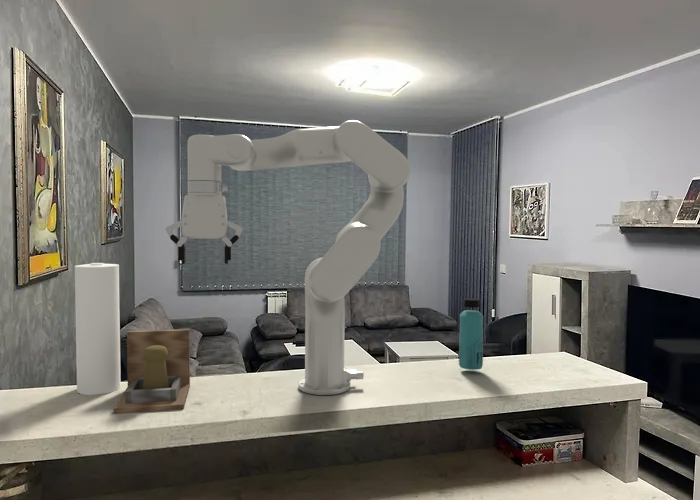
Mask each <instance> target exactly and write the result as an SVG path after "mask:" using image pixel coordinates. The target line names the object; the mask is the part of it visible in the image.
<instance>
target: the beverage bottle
mask: <svg viewBox="0 0 700 500" xmlns="http://www.w3.org/2000/svg"><path fill="white" fill-rule="evenodd" d="M463 301H464V302H463V307H465V308H472V309H473V308H474V309H476V308H479V307H480V300H479V299H478V298H464V300H463ZM472 309H471V310H469V309H467V310H466V309H465V310H463V311H462V312H460V314H459V337H458V338H459V340H458V347H459V348H458V365H459V367H460V368H461V369H463V370H464V369H465V370H470V371H477V370H481V369H482V368H483V365H484V315H483V314H482V313H481V312H480V311H479V310H472Z"/></svg>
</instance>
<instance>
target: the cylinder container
mask: <svg viewBox="0 0 700 500" xmlns="http://www.w3.org/2000/svg"><path fill="white" fill-rule="evenodd" d="M74 295H75V296H74V299H75V301H74V302H75V303H74V304H75V305H74V306H75V349H76V350H75V353H76V354H75V356H76V359H75V360H76V362H75V363H76V393H78V394H79V393H80V394H79V395H83V396H84V395H85V396H95V395H105V394H108V393H113V392H115V391H117V390H120V388H121V382H122V380H121V330H120V329H121V327H120V326H121V325H120V324H121V323H120V321H121V320H120V319H121V317H120V314H121V313H120V264H117V263H104V262H90V263H86V264H79V265H78V264H77V265H74Z"/></svg>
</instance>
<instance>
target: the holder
mask: <svg viewBox="0 0 700 500" xmlns="http://www.w3.org/2000/svg"><path fill="white" fill-rule="evenodd" d="M190 330H191V329H190V328H187V329H186V328H185V329H184V328H183V329H182V328H181V329H158V330H157V329H154V330H128V331H127V332H126V353H127V354H126V357H127V360H126V362H127V373H126V374H127V387H126V389H125V390H124V392H123V393H122V394H121V397H119V399H118V401H117V402H116V404H115V406H114V407H113V410H112V411H113V412H112V413H113V414H126V413H127V414H128V413H141V412H142V413H143V412H158V411H171V410H172V411H176V410H184V408H185V406H186V402H187V399H188V394H189V391H190V388H191V364H190V363H191V357H190V356H191V352H190V351H191V350H190V347H191V346H190V345H191V344H190V342H191V339H190V335H191V334H190V333H191V331H190ZM153 345H161V346H165V347H166V349H167V351H168V356H167V358H166V359H165V362H166V369H167V375H168V382H169V388H160V389H143V381H144V373H145V365H146V361H145V360H144V357H143V352H144V350H145V348H147V347H149V346H153Z"/></svg>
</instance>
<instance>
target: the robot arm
mask: <svg viewBox="0 0 700 500" xmlns="http://www.w3.org/2000/svg"><path fill="white" fill-rule="evenodd" d="M186 146H187V194H186V195H184V199H183V205H182V212H181V213H182V215H181V220H178V221H177V222H174V223H171V225H168V226H166V227H165V231H166V233H167V236H168V237H169V239H170V240H171V241H172V242H173V243H174V244H175V246H177V247H178V249H177V250H178V252H177V254H178V257H177V258H178V261H181V265H185V264H186V263H187V258H186V257H187V256H186V255H187V252H186V251H187V248H186V246H185V244H186V242H187V241H188V240H189V239H204V240H205V239H206V240H207V239H214V240H215V239H221V240H222V241H223V243H224V244H225V246H224V264H225V265H227V264H229V261H232V247H233V245H234V244H235V243H236V242H237V241H238V240H239V238H240V236H241V235H242V233H243V232H244V228H243V227H242V226H240V225H238V224H236V223H234V222H232V221H230V220H228V208H227V200H226V197H225V195H223V194H222V193H223V192H229V191H228V190H229V189H228V188H229V186H228V185H226V184H223V183H222V166H226V167H230V168H231V169H232V170H235V171H240V172H248V171H258V170H259V171H261V170H271V169H281V168H294V167H295V168H296V167H303V166H312V165H313V166H314V165H323V164H337V163H338V164H339V163H348V162H352V163H354V164H355V165H356V166H357V167H359V168H360V169H361V170H363V172H365V173H366V174H367V178H368V179H367V180H368V183H369V185H370V193H369V196H368V199H367V200H366V201H365V203H364V204H363V205H362V207H361V208H360V209H359V210H358V212H357V213H356V214H355V215H354V216H353V217H352V218H351V220H350V221H349V222H348V223H347V224H346V225H345V226H344V227H343V228H341V230H340V231H339V232H338V234H337V235H336V239H335V243H334V244H333V245H332V246H331V247H330V248H329V249H328V251H326V253H325V254H324V256H323V257H318V258H316V259H314V260H313V261H311V263H309V265H308V266H307V268H306V270H305V274H304V299H305V301H304V302H305V303H304V305H305V306H304V307H305V313H304V315H305V317H304V319H305V321H304V323H305V324H304V327H305V328H304V329H305V330H304V334H305V335H304V336H305V337H304V344H305V345H304V353H305V354H304V378H302V379H300V380H299V382H298V389H299V390H300V391H301V392H303V393H306V394H310V395H316V396H317V395H318V396H330V395H331V396H332V395H338V394H342V393H345V392H347V391H349V390H350V389H351V381H352V380H363V379H364V377H365V375H364V372H363V371H362V370H361V371H360V370H359V371H357V370H356V369H349V370H348V369H346V367H345V330H346V329H345V325H346V324H345V321H346V317H345V316H346V315H345V313H346V312H345V311H346V309H345V307H346V305H345V302H346V301H345V296H346V295H347V294H348V293H349V292H350V291H351V289H353V287H355V285H356V284H357V283H358V282H359V280H361V278H362V277H363V276H364V275H365V274H366V273H367V271H368V270H369V269H370V268H371V266H372V265H373V264H374V263H375V261H376V260H377V259H378V256H379V254H380V251H381V246H382V243H381V240H382V239H383V237H385V235H386V234H387V233H388V231H389V230H390V229H391V228H392V226H393V225H394V224H395V222H396V221H397V219H398V218H399V216H400V214H401V212H402V209H403V207H404V200H405V199H404V197H405V195H404V194H405V191H404V186H405V184H406V183H407V182H408V181H409V180H410V176H411V171H412V170H411V165H410V162H409V160H408V158H407V157H406V156H405V155H404V154H403V153H402V152H401V151H399V149H398V148H396V147H394V145H392V144H391V143H389V142H388V141H387V140H386V139H384V138H383V137H382V136H381V135H380V134H378V133H377V132H376V131H374V130H373V129H372V128H371V127H369V126H368V125H367V124H365V123H363V122H361V121H359V120H355V119H354V120H353V119H351V120H346V121H344V122H342V123H341V124H340V125H338V126H327V127H325V126H324V127H312V128H311V127H309V128H297V129H292V130H290V131H288V132H287V133H284V134H282V135H278V136H275V137H274V136H273V137H269V138H261V139H260V138H259V139H250V138H249V137H247V136H245V135H244V134H239V133H231V134H221V135H212V134H192V135H190V136H189V137H188V139H187V145H186ZM180 227H181V234H182V237H181V238H179V237H178V236H177V235H176V233H175V232H174V231H175V230H176V229H178V228H180ZM228 227H229V228H230V229H233V230H234V231H235V233H234V235H233V237H232V236H231V238H229V237H228V236H227V235H228V229H229V228H228Z"/></svg>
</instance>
